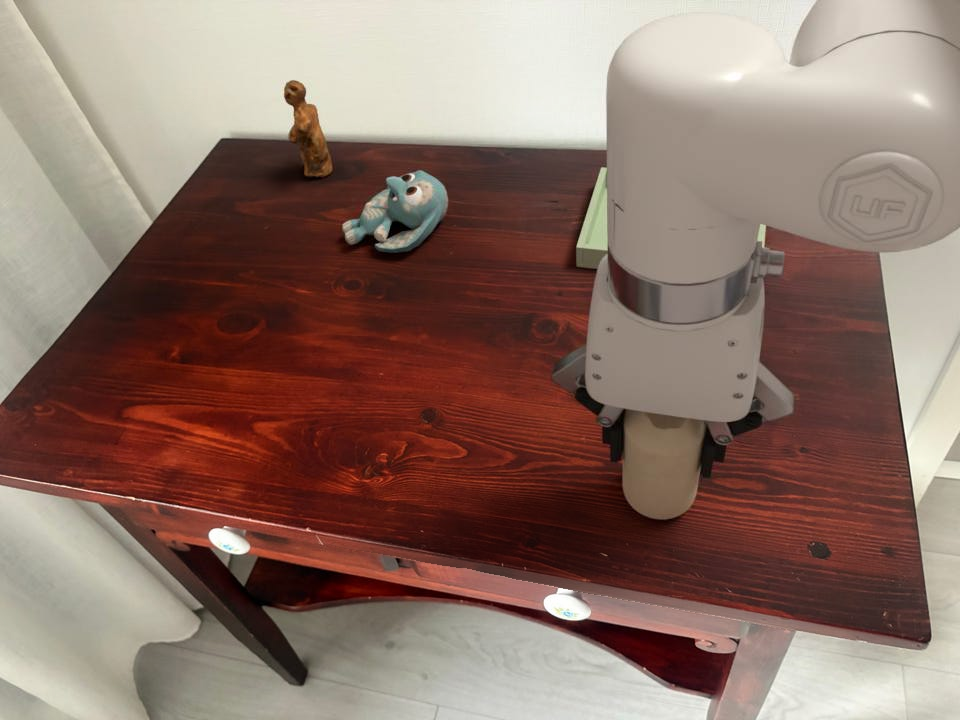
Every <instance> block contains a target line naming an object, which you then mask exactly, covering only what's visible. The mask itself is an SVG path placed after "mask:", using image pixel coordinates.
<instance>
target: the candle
mask: <svg viewBox="0 0 960 720" xmlns="http://www.w3.org/2000/svg"><path fill="white" fill-rule="evenodd" d="M706 430H707V423H706V420H698V419H691V418H684V417H677V416H670V415H663V414H656V413H649V412H643V411H636V410H630V409H626V411H625V415H624V420H623V453H622V492H623V494H624V497H625V499H626V502H627V503H628V504H629V505H630V507H631V508H632V509H633V510H635V511H636V512H637V513H639V514H640V515H642V516H645V517H647V518H650V519H654V520H669V519H674V518H677V517H679V516H682V515H683V514H685V513H686V512H688V510H689V509H690V508H691V507H692V505H693V504H694V501H695V499H696V498H697V493H698V488H699V481H700V476H701V475H700V471H701V463H702V456H703V449H704V443H705V436H706Z"/></svg>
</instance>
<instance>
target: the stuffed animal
mask: <svg viewBox="0 0 960 720" xmlns="http://www.w3.org/2000/svg"><path fill="white" fill-rule="evenodd" d="M385 183H386V185H387V188H386V189H383V190H382V191H381V192H379V193H377V194H376V195H374V197H372V198H371V199H370V200H369V201H368V202H366V203H365V205H364V208H363V209H362V212H361V214H360V217H359V218H354V219H353V218H352V219H350V220H347V221H345V222H343V224H342V225H341V226H342V227H341V230H342V232H343V234H344V239H345V241H346V243H347V244H348V245H350V246H352V245H356V244H358V243H359V242H361V241H362V240H363V239H364V238H365V236H367V235H369V236H374V239H376V241H378V242H377V243H375V244H374V248H375V249H376V250H377V251H379V252H381V253H382V252H383V253H391V254H392V253H394V254H396V253H404V252H405V253H406V252H411V251H412V250H413V249H415V248H417V247H420V245H421V244H422V243H423V242H424V241H425V240H426V239H427V237H428V236H429V235H431V233H432V232H433V231H434V230H435V228H436V227H437V225H438V224H439V223H440V222H441V221H442V220H444V218H445V216H446V214H447V211H448V207H449V197H448V192H447V189H446V187H445V185H444V184H443V183H442V182H441V181H439V179H437V178H436V177H434V176H432V175H431V174H429V173H427V172H425V171H423V170H422V169H421V170H416V171H415V172H414V171H413V172H409V173H406V174H403V175H401V176H395V175H392V176H388V177H386V178H385ZM393 222H399V223H401V224H403V225H404V226H406V227H408V228H409V229H410V230H409V229H408V230H402V231H400V232H398V233H396V234H394V235H392V236H390V237H388V236H389V233H390V228H391V226H392V224H393Z"/></svg>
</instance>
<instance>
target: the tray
mask: <svg viewBox="0 0 960 720" xmlns="http://www.w3.org/2000/svg"><path fill="white" fill-rule="evenodd" d="M589 201H590V202H589V205H588V208H587V211H586V215H585V217H584V221H583V224H582V226H581V231H580V234H579V237H578V240H577V243H576V247H575V255H576V256H575V257H576V259H575V260H576V261H575V262H576V267H578V268H585V269H594V270H598V266H599V263H600V261H601V260H602V258H603V257H604V256H605V255H606V254H608V243H607V242H608V236H607V167H600V170H599V173H598V177H597V180H596V182H595V186H594V189H593V192H592V196H591V198H590V200H589ZM766 231H767V226H766V225H763V224H760V228H759V234H758V239H757V241H762V247H765V243H766Z"/></svg>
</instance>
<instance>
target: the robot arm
mask: <svg viewBox="0 0 960 720" xmlns="http://www.w3.org/2000/svg"><path fill="white" fill-rule="evenodd" d="M605 90H606V91H605V94H606V95H605V107H606V108H605V109H606V111H605V112H606V113H605V114H606V116H605V117H606V168H607V236H608V242H607V243H608V254H606V255H605V256H604V257H603V258H602V260H601V261H600V263H599V266H598V269H596V273H595V278H594V281H593V282H594V283H593V289H592V294H591V300H590V308H589V314H588V323H587V333H586V334H587V335H586V342H585V343H583V344H581V345H580V346H578V347H577V348H576V349H574V350H573V351H571V352H569V353H568V354H566V355H565V356H563V357H561V358H560V359H559V360H557V361H555V363H554V366H553V369H552V372H551V375H550V380H551V381H552V382H553V383H554V384H555V385H557V386H559V387H560V388H561V389H562V390H564V391H565V392H567V393H569V394H573V395H574V399H575V401H577V402H578V403H579V404H580V405H582V406H583V407H584V408H586V409H587V410H588V411H589V412H591V413H592V414H594V415H595V416H596V418H595V423H596V424H597V425H598V426H600V427H601V439H602V441H601V442H602V444H604V445H609V462H611V463H616V464H618V463H619V462H622V458H623V420H624V415H625V411H626V409H630V410H636V411H643V412H649V413H656V414H663V415H670V416H677V417H684V418H691V419H698V420H706V423H707V430H706V436H705V443H704V449H703V456H702V462H701V469H700V475H699V476H702V478H707V479H711V477H712V472H713V466H714V462H716V463H720V464H721V463H722V464H724V462H725V457H726V451H727V446H730V445H732V444H733V443H734V438H735V437H736V436H740V435H742V434H745V433H748V432H750V431H753V430H756V429H759V428H760V427H761V426H762V425H763V423H764V422H767V423H770V422H773V421H776V420H779V419H782V418H785V417H788V416H791V415H793V414H794V401H795V395H794V393H793V392H792V391H791V390H790V388H788V387H787V386H786V385H785V384H784V383H782V381H781V380H780V379H778V378H777V377H776V376H775V375H774V374H773V373H772V372H771V371H770V370H769V369H768V368H767V367H766V366H765V365H764V364H763V363H761V361H760V356H761V350H762V341H763V332H764V325H765V324H764V323H765V308H766V304H765V303H766V301H765V300H766V299H765V298H766V295H765V284H764V283H765V282H764V279H766V277H771V278H782V275H783V271H784V270H783V269H784V264H785V251H783V250H782V251H780V250H771V249H770V247H766V246H764V247H762V241H757V239H758V234H759V228H760V224H763V225H766V227H770V228H772V229H776V230H779V231H782V232H785V233H788V234H791V235H795V236H797V237H801V238H804V239H807V240H811V241H813V242H816V243H817V242H818V243H821V244H825V245H829V246H832V247H835V248H840V249H845V250H852V251H857V252H863V253H901V252H905V251H906V252H907V251H912V250H917V249H920V248H923V247H927V246H929V245H932V244H934V243H936V242H939V241H941V240H943V239H945V238H947V237H948V236H950V235H951V234H953V233H954V232H956V231H957V230H959V229H960V0H816V1H815V2H814V4H813V5H812V7H811V8H810V10H809V12H808V13H807V15H806V17H805V18H804V19H803V21H802V22H801V25H800V26H799V29H798V31H797V33H796V36H795V39H794V41H793V44H792V48H791V53H790V59H789V61H788V60H787V58H786V56H785V52H784V50H783V48H782V46H781V44H780V43H779V41H778V40H777V38H776V37H775V35H774V34H772V33H771V32H770V31H769V30H768V29H766V28H765V27H764V26H762V25H761V24H759V23H757V22H755V21H754V20H751V19H749V18H746V17H743V16H739V15H735V14H730V13H725V12H724V13H723V12H711V11H707V12H706V11H697V12H695V11H694V12H685V13H679V14H673V15H669V16H666V17H662V18H658V19H655V20H653V21H651V22H648V23H646V24H644V25H642V26H641V27H639V28H637V29H636V30H634V31H633V32H631V33H630V34H629V35H627V37H626V38H624V39H623V41H622V42H621V43H620V44H619V46H618V47H617V48H616V50H615V52H614V53H613V56H612V58H611V61H610V63H609V65H608V70H607V75H606V89H605Z"/></svg>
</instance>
